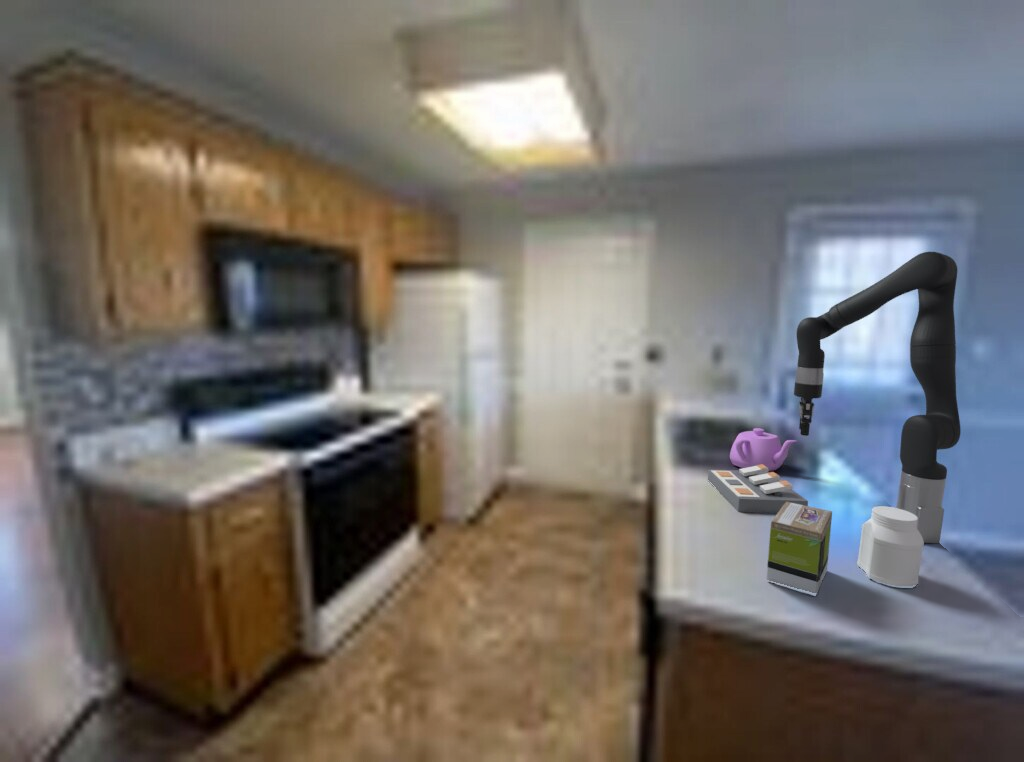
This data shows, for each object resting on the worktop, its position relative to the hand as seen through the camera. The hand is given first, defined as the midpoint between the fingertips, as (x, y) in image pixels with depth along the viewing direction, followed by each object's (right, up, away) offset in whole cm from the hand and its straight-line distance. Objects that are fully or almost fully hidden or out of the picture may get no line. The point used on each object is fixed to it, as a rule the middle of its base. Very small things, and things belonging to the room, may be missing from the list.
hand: (803, 432), depth 161 cm
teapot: (+1, -17, +33) cm, 37 cm away
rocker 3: (-12, -16, -5) cm, 21 cm away
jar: (-7, -29, -44) cm, 53 cm away
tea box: (-28, -28, -45) cm, 60 cm away
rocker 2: (-11, -15, +2) cm, 19 cm away
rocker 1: (-11, -14, +10) cm, 20 cm away
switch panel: (-14, -21, +3) cm, 26 cm away
